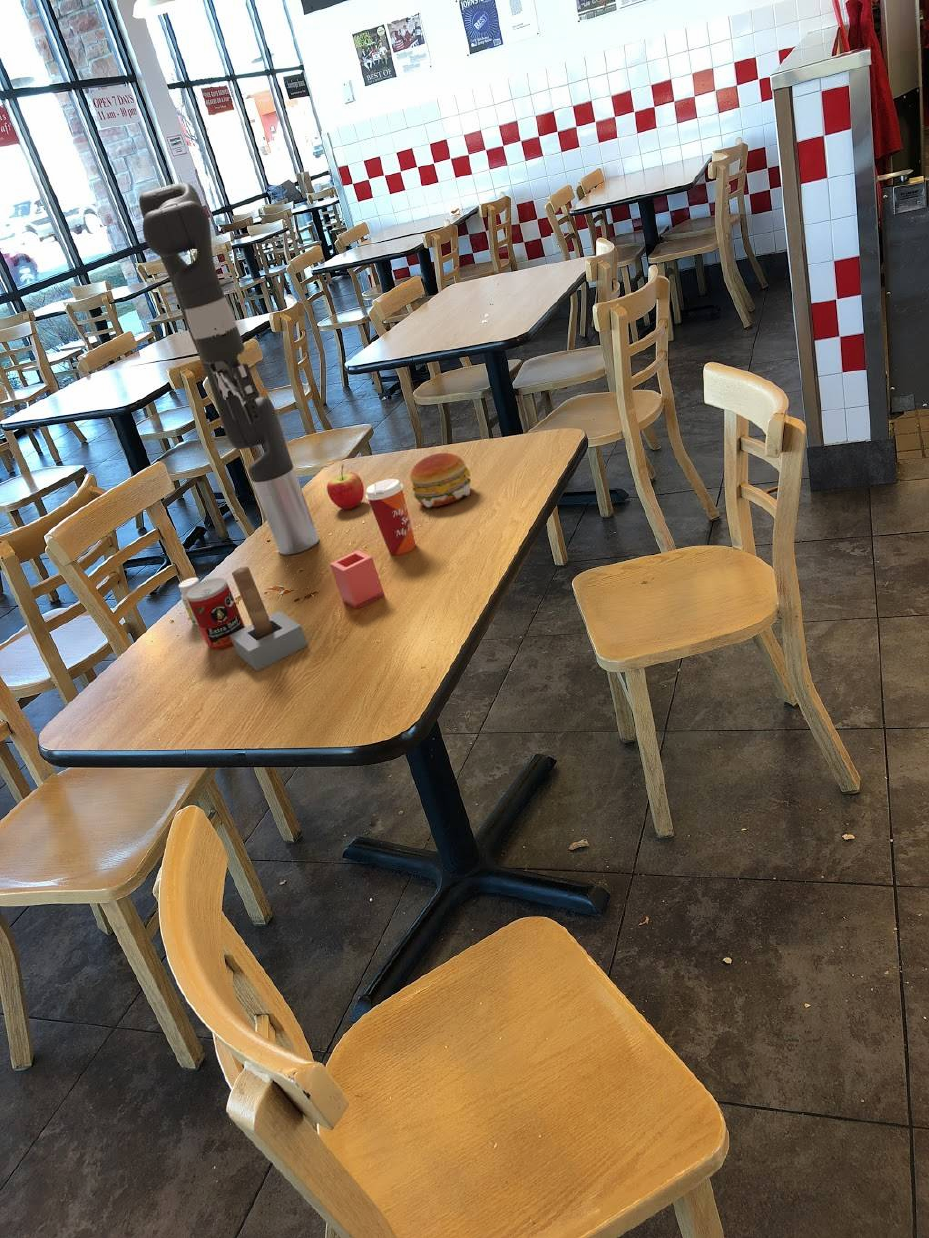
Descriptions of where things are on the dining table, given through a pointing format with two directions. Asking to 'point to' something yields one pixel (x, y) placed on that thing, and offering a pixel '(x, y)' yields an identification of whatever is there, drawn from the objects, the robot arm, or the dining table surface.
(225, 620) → the canned food
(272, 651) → the holder
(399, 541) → the paper cup
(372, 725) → the dining table surface
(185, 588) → the supplement bottle
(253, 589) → the dowel
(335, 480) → the apple
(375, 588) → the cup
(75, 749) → the dining table surface
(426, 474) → the burger
